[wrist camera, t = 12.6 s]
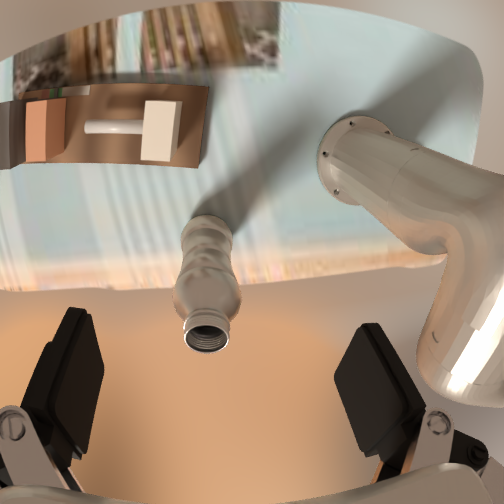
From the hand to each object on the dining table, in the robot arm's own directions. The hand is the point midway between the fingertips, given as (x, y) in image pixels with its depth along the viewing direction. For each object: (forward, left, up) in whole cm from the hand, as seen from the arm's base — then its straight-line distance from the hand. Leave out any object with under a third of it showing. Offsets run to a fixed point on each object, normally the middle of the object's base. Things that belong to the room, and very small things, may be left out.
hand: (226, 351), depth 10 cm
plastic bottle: (0, +10, -31) cm, 32 cm away
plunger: (+10, -4, -29) cm, 30 cm away
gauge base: (+15, -4, -30) cm, 34 cm away
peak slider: (+21, -5, -28) cm, 36 cm away
